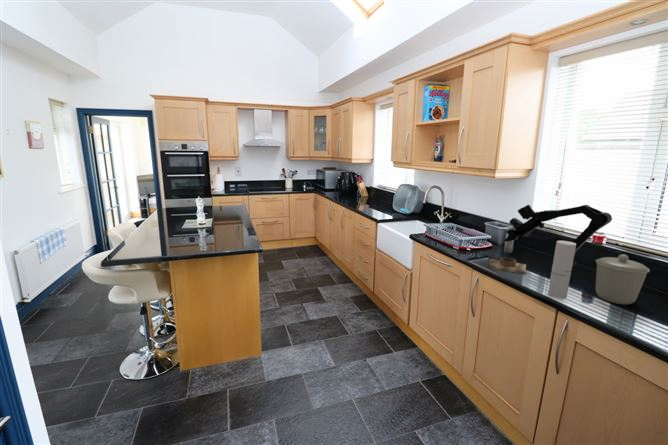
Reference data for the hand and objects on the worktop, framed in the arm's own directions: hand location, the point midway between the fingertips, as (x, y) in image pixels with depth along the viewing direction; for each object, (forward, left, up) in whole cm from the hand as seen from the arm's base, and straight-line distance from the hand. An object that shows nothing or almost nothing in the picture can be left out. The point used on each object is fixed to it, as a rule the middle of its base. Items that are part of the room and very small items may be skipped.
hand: (507, 240), depth 196 cm
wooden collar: (-2, +13, -11) cm, 17 cm away
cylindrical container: (-24, +43, -13) cm, 51 cm away
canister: (-46, +34, -13) cm, 59 cm away
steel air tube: (-1, +1, -7) cm, 7 cm away
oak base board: (-2, +13, -13) cm, 18 cm away
